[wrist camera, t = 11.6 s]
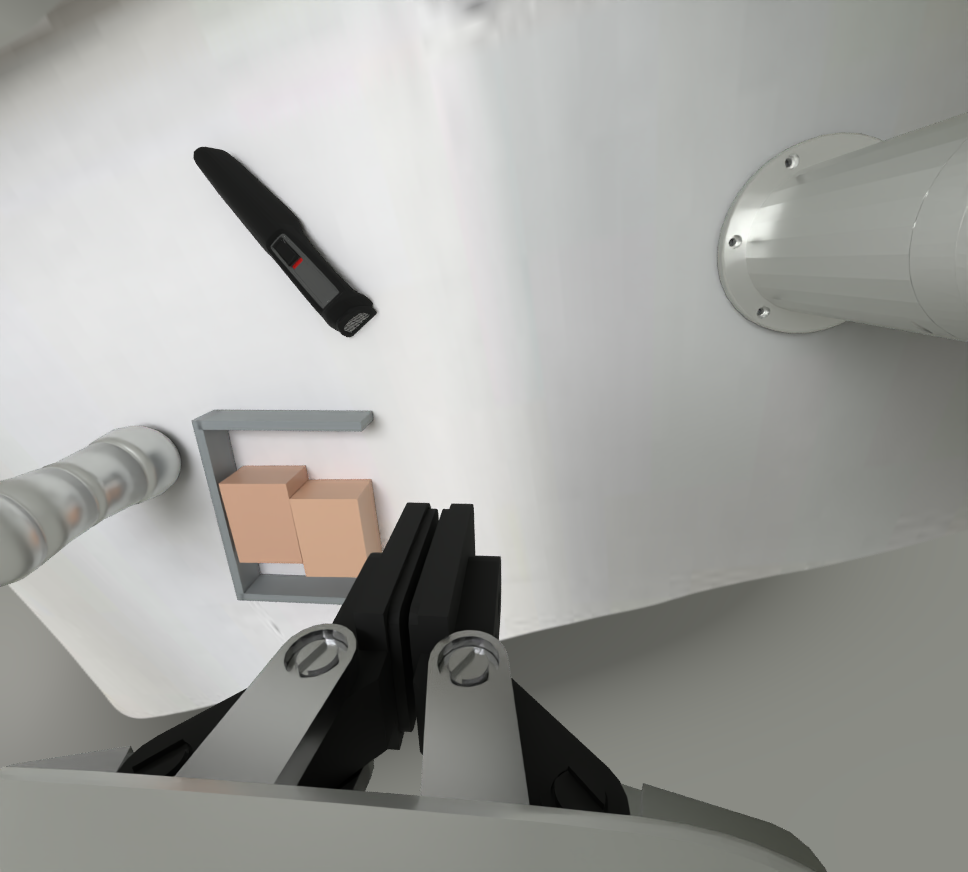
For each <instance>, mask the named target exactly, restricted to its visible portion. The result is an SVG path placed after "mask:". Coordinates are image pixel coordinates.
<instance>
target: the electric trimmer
mask: <svg viewBox="0 0 968 872" xmlns="http://www.w3.org/2000/svg"><path fill="white" fill-rule="evenodd" d="M194 160H195V162H196V164H197V165H198V167H199V168H200V169H201V171H202V172H203V173H204V175H205V176H206V177H207V179H208V180H209V181H210V183H211V184H212V185H213V187H214V188H215V189H216V191H217V192H218V193H219V195H220V196H221V197H222V198H223V200H224V201H225V202H226V203H227V204H228V206H229V207H230V208H231V209H232V211H233V212H234V213H235V214H236V215H237V217H238V218H239V219H240V220H241V222H242V223H243V224H244V225H245V227H246V228H247V229H248V230H249V231H250V233H251V234H252V235H253V236H254V238H255V239H256V240H257V241H258V243H259V244H260V245H261V246H262V247H263V248H264V250H265V251H266V252H267V253H268V254H269V255H270V256H271V257H272V258H273V259H274V260H275V261H276V263H277V264H278V265H279V266H280V267H281V269H282V270H283V271H284V272H285V273H286V275H287V276H288V277H289V278H290V280H291V281H292V282H293V283H294V284H295V286H296V287H297V288H298V289H299V291H300V292H301V293H302V294H303V295H304V297H305V298H306V299H307V300H308V301H309V303H310V304H311V305H312V306H313V307H314V308H315V310H316V311H317V312H318V313H319V314H320V315H321V316H322V317H323V319H324V320H325V321H326V322H327V324H328V325H329V326H330V327H332V328H333V329H335V330H337V331H339V332H340V333H341V334H342V335H344V336H346V337H351V336H353V335H354V334H355V333H356V332H357V331H359V330H360V329H361V328H362V327H363V326H364V325H365V324H366V323H367V322H368V321H369V320H370V319H371V318H372V317H373V316H374V315H376V311H375V310H374V309H373V308H372V305H373V303H372V302H371V301H370V300H369V299H368V298H367V297H366V296H364V295H362V294H360V293H358V292H356V291H354V290H353V289H352V288H351V287H350V286H349V285H348V284H347V283H346V282H345V281H344V280H343V279H342V278H341V277H340V276H339V275H338V274H337V273H336V272H335V271H334V270H333V269H332V267H331V266H330V265H329V264H328V263H327V262H326V261H325V260H324V259H323V258H322V256H321V255H320V254H319V253H318V252H317V251H316V249H315V248H314V247H313V245H312V244H311V243H310V242H309V240H308V239H307V238H306V236H305V235H304V234H303V231H302V229H301V226H300V223H299V220H298V218H297V217H296V216H295V215H294V214H293V213H292V212H291V211H290V210H289V209H288V208H287V207H286V206H285V205H284V204H283V203H282V202H281V201H280V200H279V199H278V198H276V197H275V196H274V195H273V194H272V193H271V192H270V191H269V190H268V189H267V188H266V187H265V186H264V185H263V184H262V183H261V182H260V181H258V180H257V179H256V178H255V177H254V176H253V175H252V174H251V173H250V172H249V171H248V170H247V169H246V168H245V167H244V166H243V165H241V164H240V163H239V162H238V161H237V160H236V159H235V158H234V157H232V156H231V155H230V154H229V153H227V152H225V151H223V150H220V149H214V148H209V147H200V148H198V149H196V150H195V151H194Z"/></svg>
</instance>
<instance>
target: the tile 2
mask: <svg viewBox="0 0 968 872" xmlns="http://www.w3.org/2000/svg"><path fill="white" fill-rule="evenodd" d="M289 501H290V505H291V510H292V514H293V519H294V523H295V528H296V532H297V537H298V541H299V546H300V550H301V555H302V559H303V564H304V569H305V573H306V577H357V576H358V575H359V573H360V571H361V569H362V567H363V565H364V563H365V561H366V560H367V558H368V556H369V555H370V553H373V552H380V553H382V548H381V542H380V535H379V528H378V521H377V514H376V507H375V501H374V494H373V487H372V480H371V479H318V480H308V481H307V482H306V483H305V484H304V485H303V486H302V487H301V488H300V489H299V490H298V491H297V492H296V493H295V494H294V495H293V496H292V497H291V498H290V499H289Z"/></svg>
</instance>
